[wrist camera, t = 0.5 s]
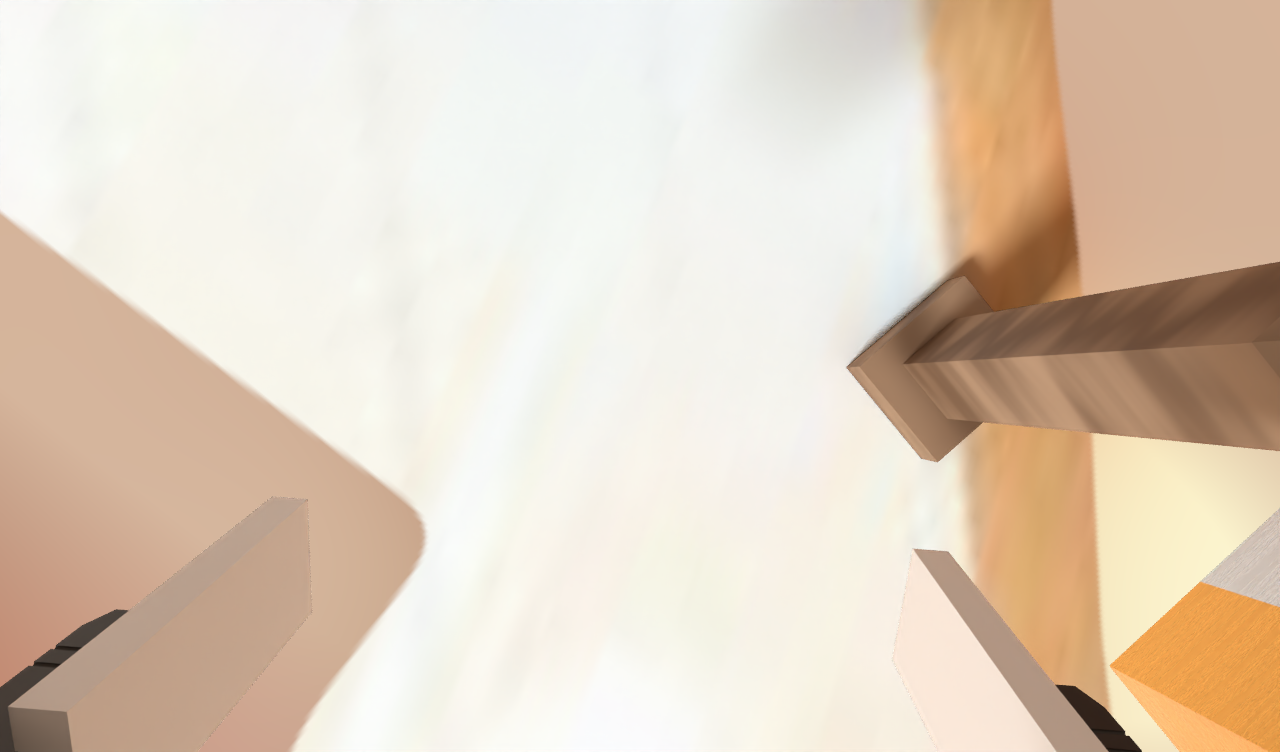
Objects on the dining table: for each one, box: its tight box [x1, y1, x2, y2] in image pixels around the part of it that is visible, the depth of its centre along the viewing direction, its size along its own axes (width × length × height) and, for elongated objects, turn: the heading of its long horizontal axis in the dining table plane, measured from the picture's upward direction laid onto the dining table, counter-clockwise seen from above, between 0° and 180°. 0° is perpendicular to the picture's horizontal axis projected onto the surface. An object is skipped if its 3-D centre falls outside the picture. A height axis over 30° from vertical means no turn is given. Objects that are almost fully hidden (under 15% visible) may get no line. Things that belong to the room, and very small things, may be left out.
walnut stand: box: [846, 262, 1280, 462], centre depth 29 cm, size 8×7×28 cm
